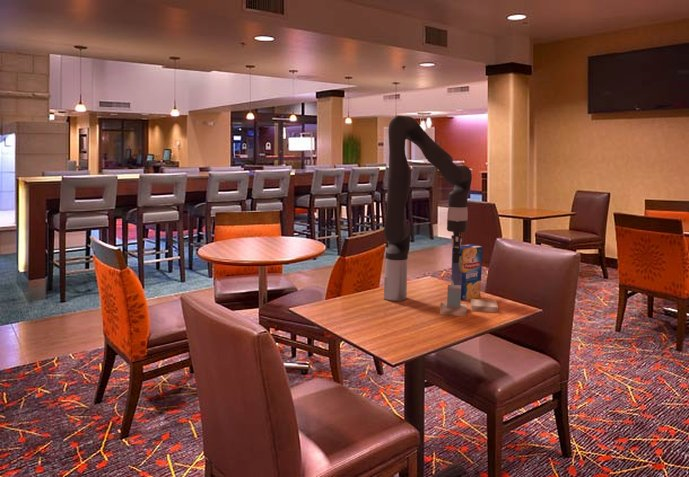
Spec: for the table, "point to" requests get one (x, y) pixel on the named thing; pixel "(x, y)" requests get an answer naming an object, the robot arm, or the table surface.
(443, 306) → the stand
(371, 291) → the table surface
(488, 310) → the stand
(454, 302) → the block
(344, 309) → the table surface
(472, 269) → the blue food carton
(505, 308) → the table surface
